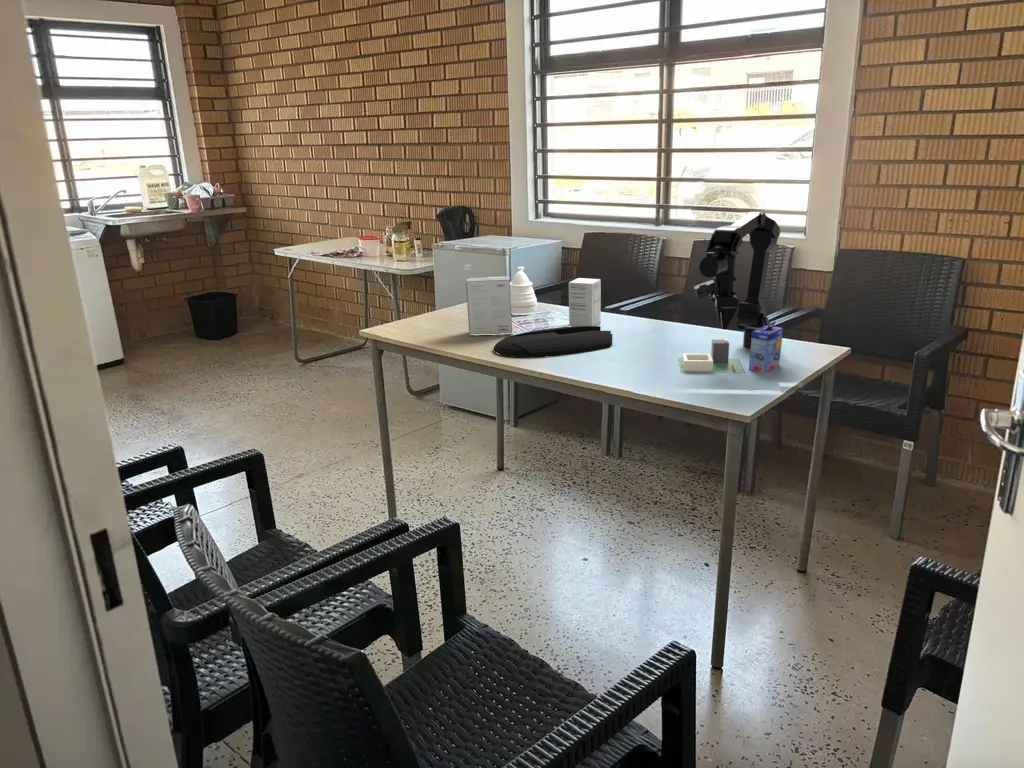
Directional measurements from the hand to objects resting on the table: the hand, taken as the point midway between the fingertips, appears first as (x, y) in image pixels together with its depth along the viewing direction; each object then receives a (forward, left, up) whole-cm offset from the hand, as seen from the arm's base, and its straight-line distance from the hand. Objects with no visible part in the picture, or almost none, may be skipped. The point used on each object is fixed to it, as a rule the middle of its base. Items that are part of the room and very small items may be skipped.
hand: (722, 325), depth 221 cm
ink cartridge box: (+6, +12, -12) cm, 18 cm away
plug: (0, 0, -11) cm, 11 cm away
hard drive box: (-37, -76, -12) cm, 86 cm away
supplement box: (-50, -43, -12) cm, 67 cm away
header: (+7, -7, -11) cm, 15 cm away
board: (+4, -3, -12) cm, 13 cm away
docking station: (-20, -52, -13) cm, 57 cm away
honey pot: (-73, -70, -12) cm, 102 cm away
